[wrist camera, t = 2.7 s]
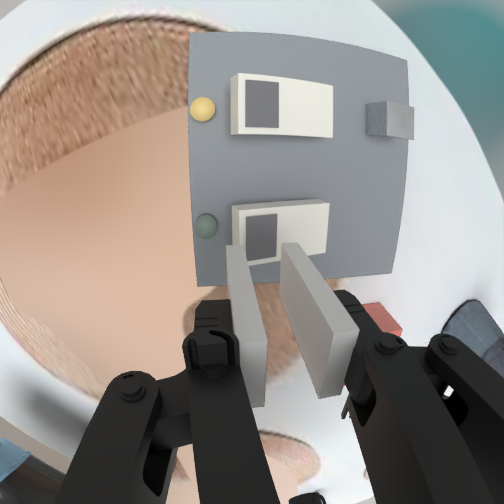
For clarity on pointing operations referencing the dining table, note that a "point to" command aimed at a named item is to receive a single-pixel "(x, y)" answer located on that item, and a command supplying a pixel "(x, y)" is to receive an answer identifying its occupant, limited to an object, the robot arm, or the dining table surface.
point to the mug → (308, 499)
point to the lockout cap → (383, 319)
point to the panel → (296, 152)
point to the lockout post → (390, 120)
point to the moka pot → (479, 333)
